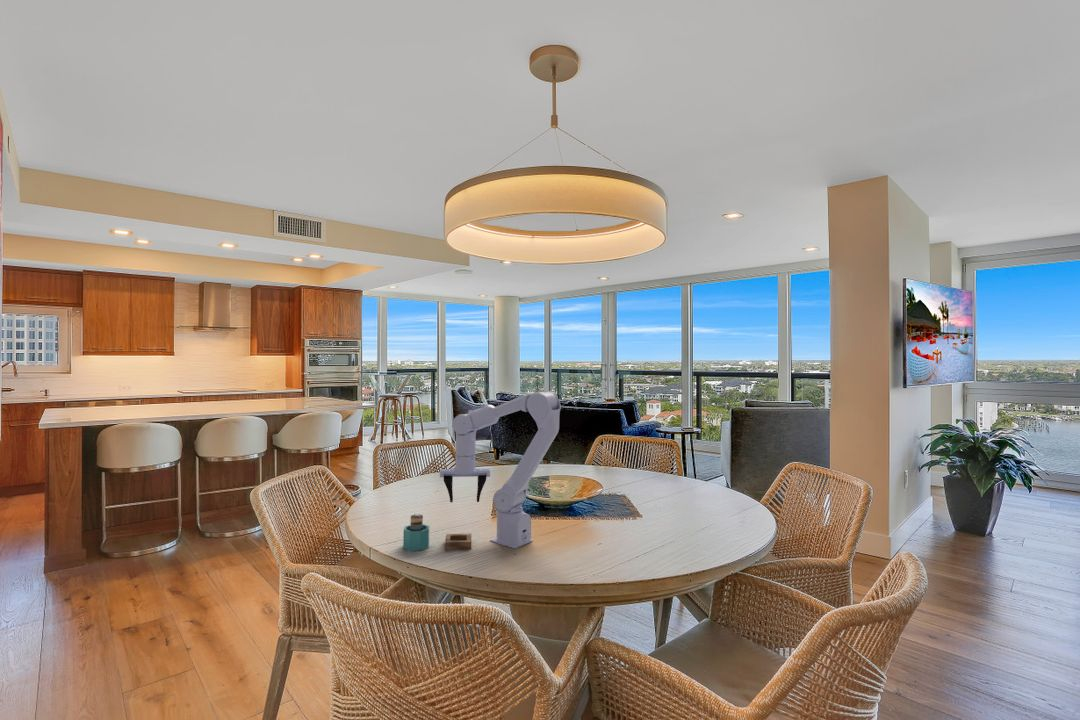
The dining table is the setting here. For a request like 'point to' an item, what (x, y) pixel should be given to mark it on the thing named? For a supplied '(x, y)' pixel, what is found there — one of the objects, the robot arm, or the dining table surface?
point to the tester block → (458, 541)
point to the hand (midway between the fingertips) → (464, 501)
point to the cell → (416, 522)
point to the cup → (416, 538)
